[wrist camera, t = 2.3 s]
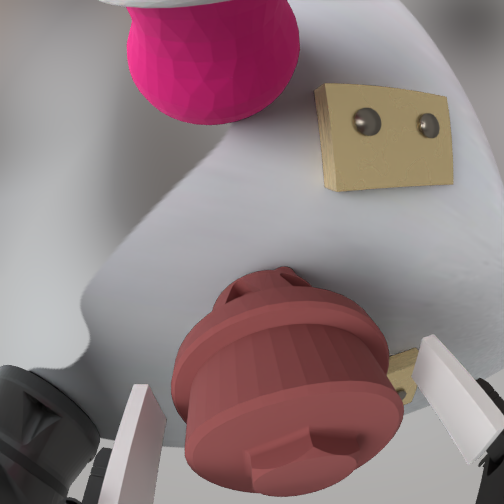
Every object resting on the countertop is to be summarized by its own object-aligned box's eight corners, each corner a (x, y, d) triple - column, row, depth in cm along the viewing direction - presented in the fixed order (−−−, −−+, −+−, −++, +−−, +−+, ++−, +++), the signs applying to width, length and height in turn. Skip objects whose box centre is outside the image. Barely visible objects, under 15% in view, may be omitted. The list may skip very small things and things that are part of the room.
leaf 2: (324, 187, 16) (338, 192, 14) (313, 90, 14) (326, 81, 12) (435, 180, 17) (456, 185, 15) (429, 99, 15) (449, 96, 12)
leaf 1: (323, 414, 23) (329, 431, 21) (326, 373, 21) (334, 392, 19) (403, 389, 24) (412, 404, 22) (415, 347, 22) (427, 362, 20)
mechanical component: (294, 205, 17) (354, 321, 20) (159, 288, 18) (241, 381, 21) (422, 314, 5) (438, 450, 8) (94, 454, 6) (255, 524, 9)
